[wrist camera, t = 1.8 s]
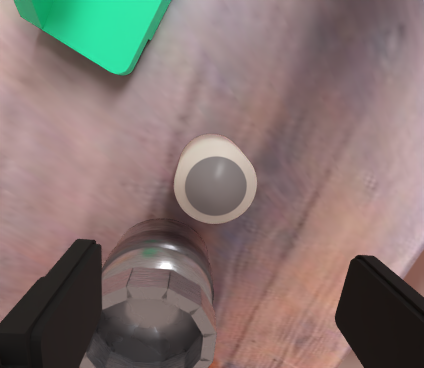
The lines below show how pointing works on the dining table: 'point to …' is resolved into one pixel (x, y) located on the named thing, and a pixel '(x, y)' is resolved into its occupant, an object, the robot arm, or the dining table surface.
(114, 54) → the camera mount
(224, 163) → the cap
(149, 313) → the grey hollow cylinder
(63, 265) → the robot arm
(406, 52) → the dining table surface
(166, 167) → the dining table surface
